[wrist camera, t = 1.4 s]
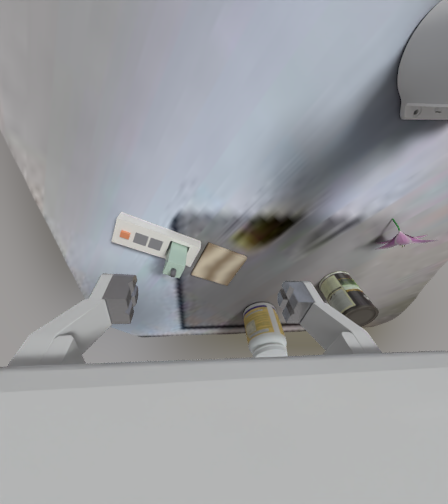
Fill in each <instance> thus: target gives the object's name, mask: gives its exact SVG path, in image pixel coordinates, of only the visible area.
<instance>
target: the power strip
mask: <svg viewBox="0 0 448 504" xmlns="http://www.w3.org/2000/svg"><path fill="white" fill-rule="evenodd" d="M170 241H173V242H176V243H178V244H181V245H184V246H187V256H186V266H189V267H191V265H192V263H193V261H194V259H195V257H196V256H197V254H198V252H199V250H200V248H201V241H199V240H196V239H194V238H191V237H188V236H185V235H183V234H180V233H177V232H175V231H172V230H169V229H166V228H164V227H161V226H158V225H156V224H153V223H150V222H148V221H145V220H142V219H139V218H137V217H134V216H131V215H129V214H126V213H123V212H121V213H120V214H119V216H118V217H117V220H116V224H115V229H114V233H113V237H112V242H114V243H117V244H120V245H123V246H126V247H129V248H133V249H136V250H139V251H142V252H145V253H148V254H152V255H155V256H158V257H161V258H164V259H166V256H167V252H168V249H167V248H168V246H169V243H170Z"/></svg>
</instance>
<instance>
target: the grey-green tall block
mask: <svg viewBox="0 0 448 504" xmlns="http://www.w3.org/2000/svg"><path fill="white" fill-rule="evenodd" d="M186 256H187V246H184V245H181V244H178V243H176V242H173V241H171V243H170V245H169V248H168V252H167V256H166V260H165V265H164V269H163V273H162V274H166V275H169V276H171V277H176V278H180V276H181V274H182V272H183V270H184V268H185V265H186Z"/></svg>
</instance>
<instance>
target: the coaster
mask: <svg viewBox="0 0 448 504" xmlns="http://www.w3.org/2000/svg"><path fill="white" fill-rule="evenodd" d="M246 260H247V257H246V256H244V255H241V254H238V253H236V252H233V251H230V250H228V249H225V248H222V247H220V246H217V245H214V244H211V243H209V242H208V244H207V246H206V248H205V249H204V251H203V253H202V255H201V257H200V258H199V260H198V262H197V264H196V266H195V267H194V269H193V271H192V273H191V275H193V276H197V277H200V278H203V279H207V280H210V281H213V282H216V283H220V284H223V285H226V286H227V285H228V284H229V283H230V281H231V280H232V279H233V277H234V276H235V275H236V273H237V272H238V270H239V269H240V268H241V266H242V265H243V264H244V262H245V261H246Z"/></svg>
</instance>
